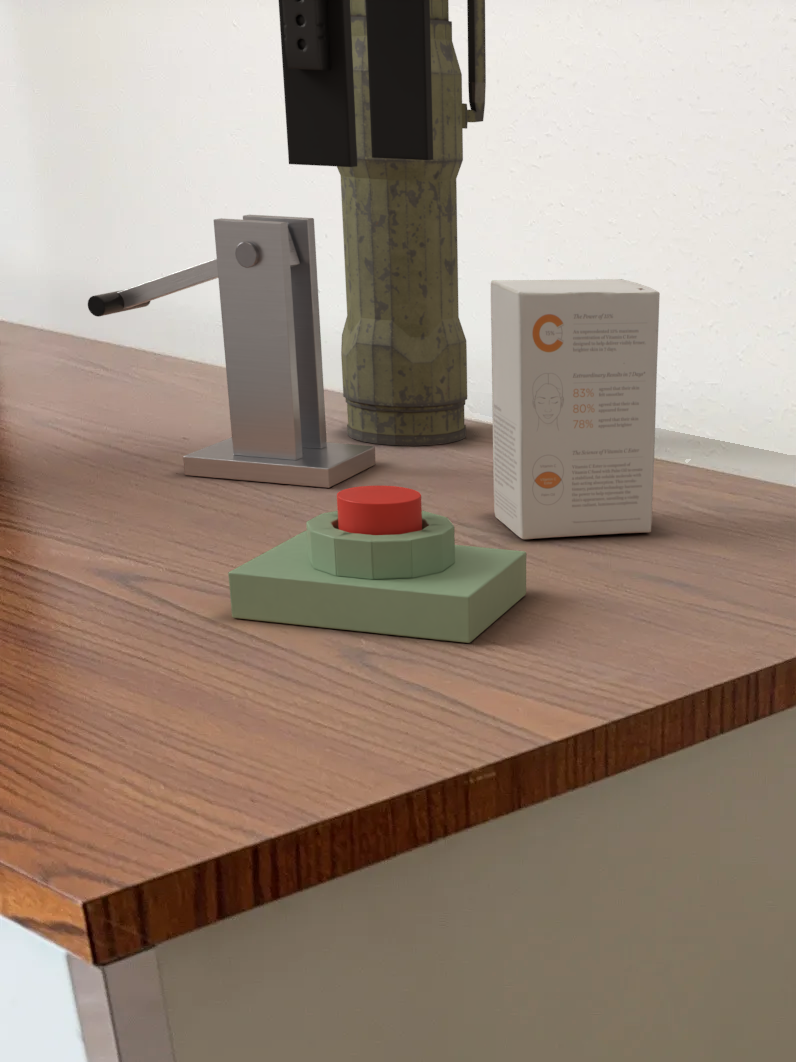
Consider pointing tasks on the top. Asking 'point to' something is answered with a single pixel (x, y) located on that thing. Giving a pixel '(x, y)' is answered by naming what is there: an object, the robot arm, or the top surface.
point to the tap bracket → (273, 361)
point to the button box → (380, 582)
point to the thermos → (408, 255)
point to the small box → (573, 405)
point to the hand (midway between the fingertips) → (365, 161)
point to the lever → (162, 287)
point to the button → (379, 510)
